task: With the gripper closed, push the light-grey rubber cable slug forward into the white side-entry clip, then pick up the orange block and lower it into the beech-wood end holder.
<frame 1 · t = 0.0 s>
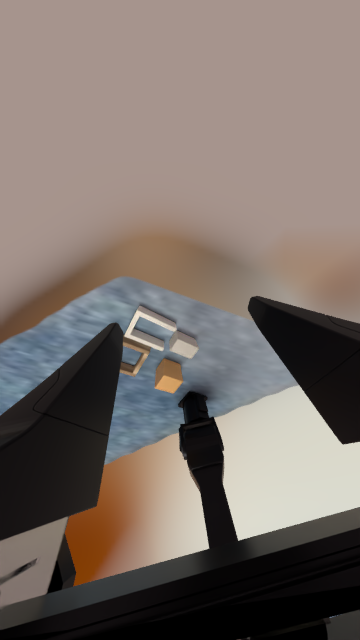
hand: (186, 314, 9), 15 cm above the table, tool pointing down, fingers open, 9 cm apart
orange block: (168, 366, 31), on the table
clip: (153, 327, 26), on the table
holder: (125, 352, 27), on the table
cable slug: (182, 339, 28), on the table
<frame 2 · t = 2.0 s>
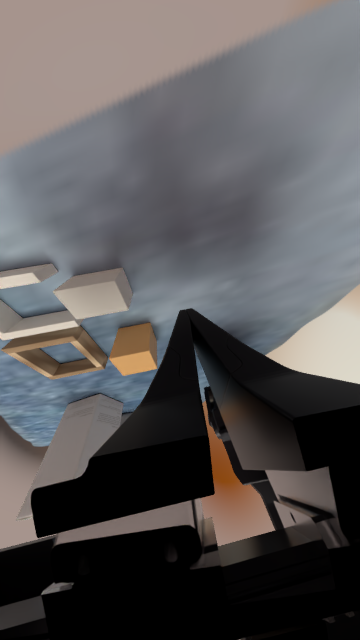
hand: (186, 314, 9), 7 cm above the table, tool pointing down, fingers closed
orange block: (139, 334, 19), on the table
clip: (39, 297, 13), on the table
holder: (68, 349, 19), on the table
supplement box: (98, 402, 32), on the table
cable slug: (105, 285, 14), on the table
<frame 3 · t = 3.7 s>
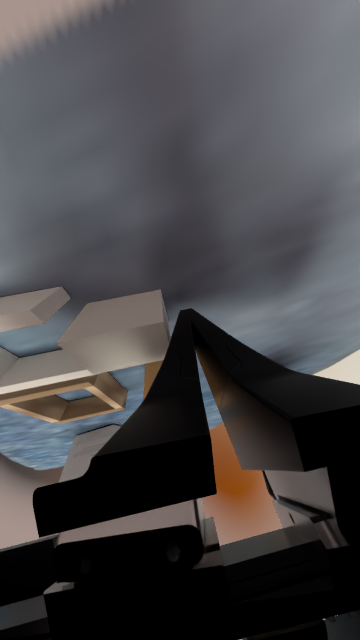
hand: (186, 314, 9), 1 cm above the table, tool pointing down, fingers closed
orange block: (169, 366, 15), on the table
clip: (41, 332, 9), on the table
holder: (79, 386, 14), on the table
supplement box: (109, 431, 28), on the table
cable slug: (132, 313, 10), on the table, touching gripper
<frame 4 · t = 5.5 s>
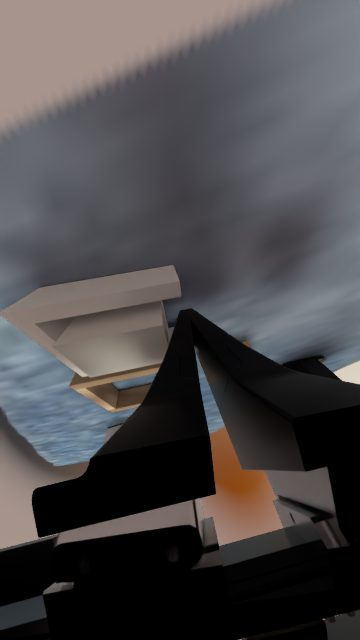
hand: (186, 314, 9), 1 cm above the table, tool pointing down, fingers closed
clip: (132, 313, 9), on the table
holder: (136, 374, 15), on the table
cable slug: (131, 315, 9), on the table, touching gripper
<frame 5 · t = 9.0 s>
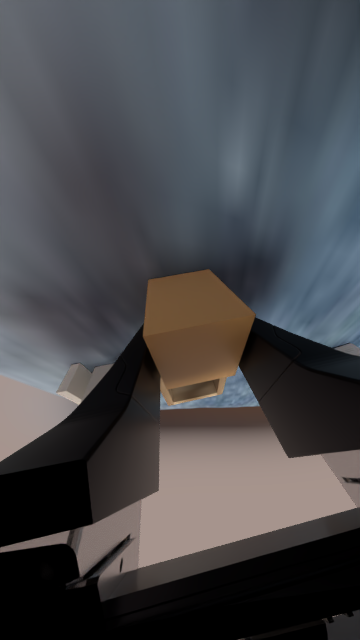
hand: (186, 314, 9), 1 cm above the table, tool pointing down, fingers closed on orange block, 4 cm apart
orange block: (182, 303, 10), on the table, touching gripper
clip: (118, 375, 14), on the table
holder: (190, 371, 16), on the table
cable slug: (120, 374, 15), on the table
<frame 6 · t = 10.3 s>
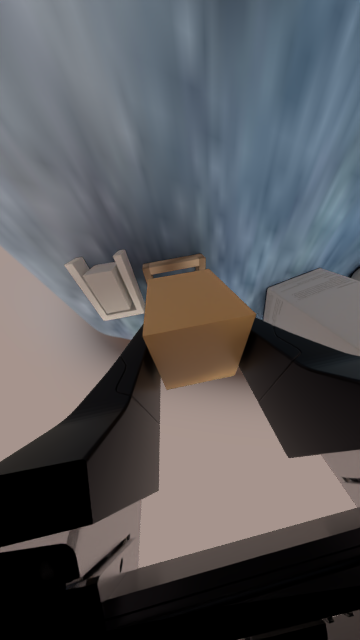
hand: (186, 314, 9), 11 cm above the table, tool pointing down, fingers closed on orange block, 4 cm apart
orange block: (182, 303, 10), point 10 cm above the table, touching gripper
clip: (114, 281, 17), on the table
holder: (176, 287, 19), on the table
supplement box: (286, 297, 24), on the table
cable slug: (116, 281, 17), on the table
when the fingers open (4 cm above the table, at t = 12.1 s): orange block drops 2 cm, on the table.
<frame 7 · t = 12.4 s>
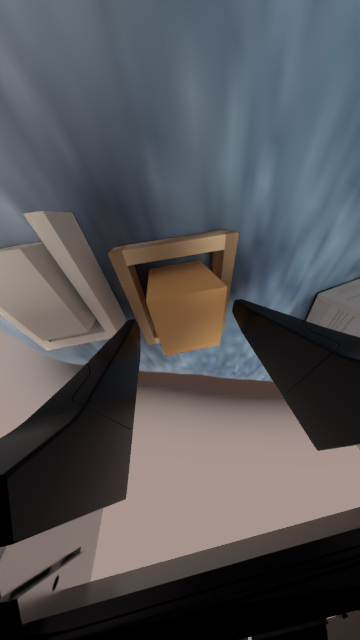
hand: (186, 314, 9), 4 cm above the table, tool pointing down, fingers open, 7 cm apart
orange block: (178, 290, 11), on the table
clip: (63, 280, 9), on the table
holder: (178, 291, 11), on the table
supplement box: (337, 307, 17), on the table
cable slug: (67, 280, 9), on the table
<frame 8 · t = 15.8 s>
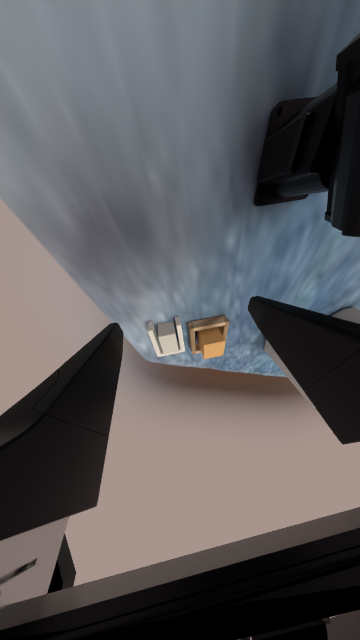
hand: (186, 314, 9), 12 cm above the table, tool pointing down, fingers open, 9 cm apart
orange block: (205, 332, 28), on the table
clip: (167, 331, 26), on the table
holder: (206, 332, 28), on the table
supplement box: (281, 334, 33), on the table
water bottle: (334, 316, 32), on the table
cable slug: (167, 331, 26), on the table
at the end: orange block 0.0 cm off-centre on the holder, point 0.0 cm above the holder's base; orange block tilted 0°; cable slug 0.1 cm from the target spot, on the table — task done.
